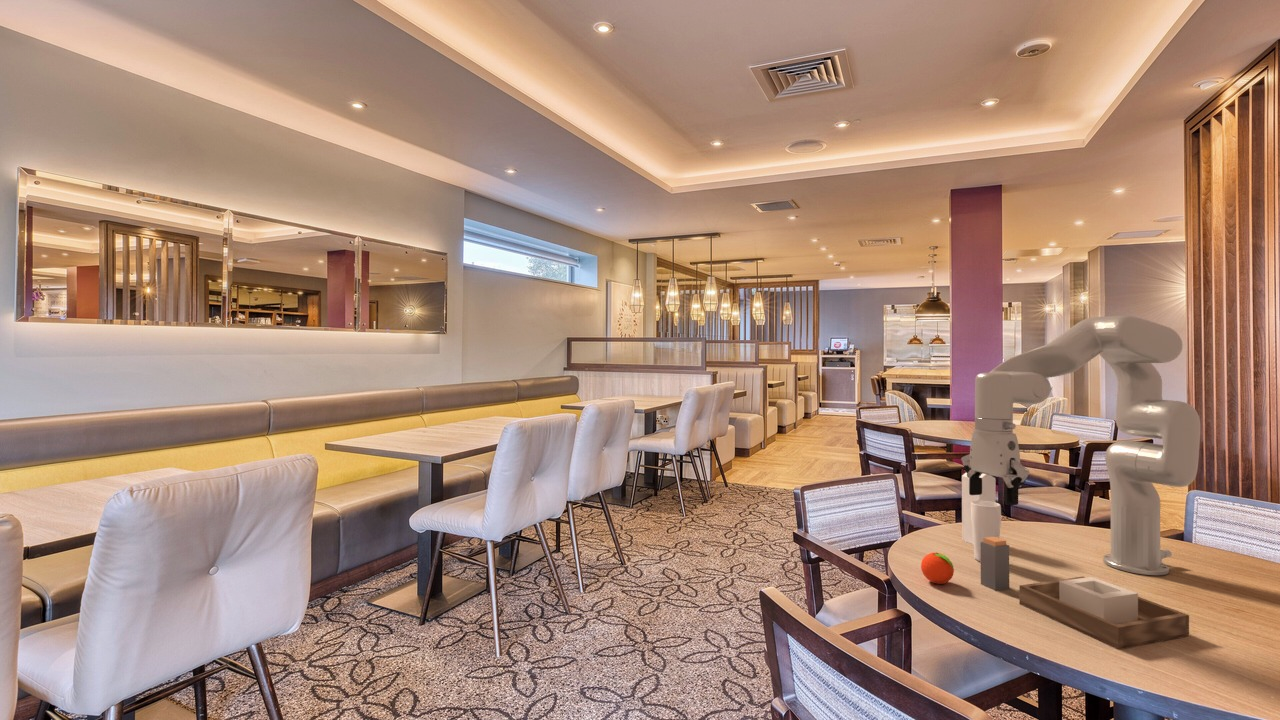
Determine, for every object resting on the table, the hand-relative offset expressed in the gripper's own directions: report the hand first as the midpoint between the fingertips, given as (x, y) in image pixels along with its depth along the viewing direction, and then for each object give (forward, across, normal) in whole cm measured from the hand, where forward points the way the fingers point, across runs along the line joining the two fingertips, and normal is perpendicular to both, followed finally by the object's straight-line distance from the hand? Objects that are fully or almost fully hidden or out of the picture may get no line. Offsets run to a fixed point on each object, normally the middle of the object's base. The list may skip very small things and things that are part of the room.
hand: (992, 499), depth 133 cm
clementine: (+21, +5, +10) cm, 24 cm away
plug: (+20, 0, -1) cm, 20 cm away
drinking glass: (+20, +14, -13) cm, 28 cm away
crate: (+20, -19, -7) cm, 28 cm away
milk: (+20, +26, -23) cm, 40 cm away
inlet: (+20, -18, -8) cm, 28 cm away
